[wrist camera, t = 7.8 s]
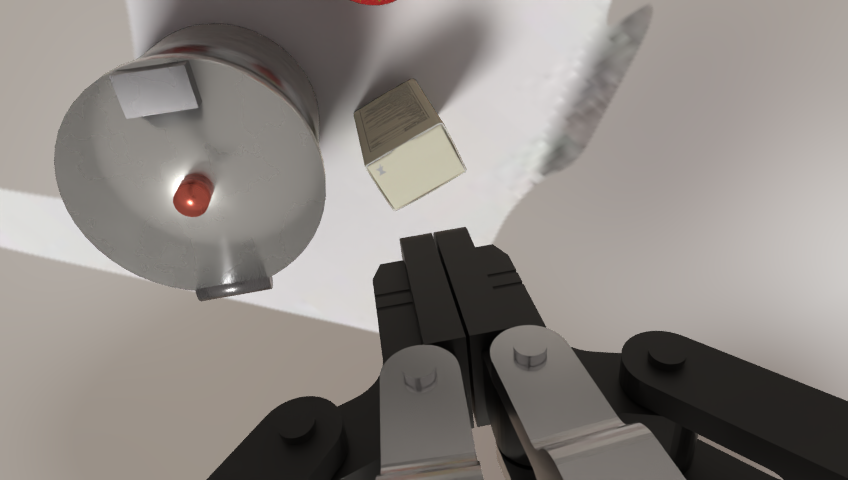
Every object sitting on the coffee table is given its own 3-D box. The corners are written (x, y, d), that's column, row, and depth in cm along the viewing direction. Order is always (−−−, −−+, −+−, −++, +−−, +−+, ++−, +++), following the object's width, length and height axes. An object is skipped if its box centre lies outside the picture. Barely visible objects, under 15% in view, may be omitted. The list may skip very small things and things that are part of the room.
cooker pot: (96, 36, 42) (24, 77, 32) (299, 7, 43) (291, 38, 33) (167, 212, 50) (128, 290, 40) (337, 184, 51) (340, 253, 41)
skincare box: (376, 152, 50) (390, 216, 40) (351, 111, 48) (359, 168, 38) (439, 117, 50) (469, 173, 39) (416, 74, 47) (442, 121, 37)
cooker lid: (13, 74, 32) (-18, 91, 29) (295, 33, 33) (292, 46, 30) (128, 306, 40) (113, 337, 38) (347, 267, 42) (349, 294, 39)
